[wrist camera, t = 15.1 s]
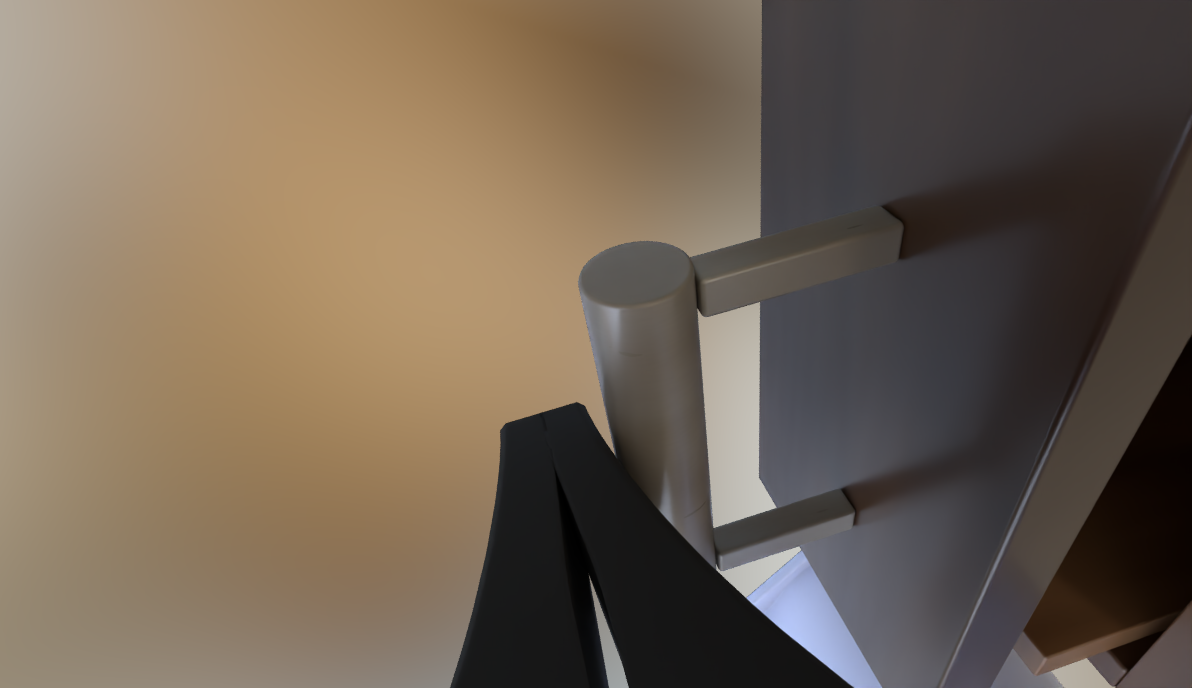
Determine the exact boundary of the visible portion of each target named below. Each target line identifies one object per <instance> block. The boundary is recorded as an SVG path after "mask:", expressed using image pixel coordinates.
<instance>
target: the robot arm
mask: <svg viewBox="0 0 1192 688" xmlns="http://www.w3.org/2000/svg"><path fill="white" fill-rule="evenodd" d="M500 433H501V434H500V439H501V447H500V448H501V449H500V465H499V476H498V484H497V492H496V500H495V507H494V512H493V518H492V524H491V530H490V535H489V541H488V547H487V552H486V557H485V561H484V566H483V570H482V574H481V578H480V582H479V587H478V591H477V595H476V599H475V603H474V608H473V612H472V616H471V619H470V623H469V627H468V630H467V634H466V637H465V641H464V645H463V648H462V651H461V655H460V658H459V661H458V665H457V668H456V671H455V674H454V677H453V680H452V683H451V687H450V688H609V686H608V680H607V675H606V669H605V663H604V658H603V652H602V647H601V641H600V635H599V629H598V624H597V618H596V612H595V607H594V601H593V596H592V591H591V584H590V579H589V576H590V578H591V581H592V584H593V586H594V589H595V592H596V595H597V597H598V600H599V602H600V605H601V608H602V611H603V613H604V616H605V619H606V621H607V624H608V627H609V629H610V632H611V635H612V637H613V640H614V643H615V645H616V648H617V651H618V653H619V656H620V659H621V661H622V664H623V668H624V672H625V675H626V679H627V683H628V686H629V688H882V687H881V685H880V683H879V682H878V680H877V678H876V676H875V675H874V673H873V671H872V670H871V668H870V666H869V664H868V663H867V661H866V659H865V658H864V656H863V654H862V652H861V651H860V649H859V647H858V646H857V644H856V642H855V640H854V639H853V637H852V635H851V634H850V632H849V630H848V628H847V627H846V625H845V623H844V622H843V620H842V618H841V616H840V615H839V613H838V611H837V610H836V608H835V606H834V605H833V603H832V601H831V599H830V598H829V596H828V594H827V593H826V591H825V589H824V587H823V586H822V584H821V582H820V581H819V579H818V577H817V575H816V574H815V572H814V570H813V569H812V567H811V565H810V563H809V562H808V560H807V558H806V557H805V555H804V553H803V551H802V550H801V551H800V552H799V553H798V554H797V555H795V556H794V557H793V558H792V559H791V560H790V561H789V562H787V563H786V564H785V565H784V566H783V567H782V568H780V569H779V570H778V571H777V572H776V573H775V574H773V575H772V576H771V577H770V578H769V579H768V580H766V581H765V582H764V583H763V584H762V585H760V587H758V588H757V589H756V590H755V591H754V592H752V593H751V594H750V595H749V596H748V597H747V598H745V597H744V596H743V595H742V594H741V593H740V592H739V591H738V590H737V589H736V588H735V587H734V586H732V585H731V584H730V583H729V582H728V581H727V580H726V579H725V578H724V577H723V576H722V575H721V574H720V573H718V571H717V570H716V569H715V568H713V567H712V566H711V565H710V564H709V563H708V562H707V561H706V560H705V559H704V558H703V557H702V556H701V555H700V554H699V553H698V552H697V551H696V550H695V549H694V547H693V546H692V545H691V544H690V543H689V542H688V541H687V540H686V539H685V538H684V537H683V536H682V535H681V534H680V533H679V532H678V531H677V529H676V528H675V527H674V526H673V525H672V524H671V523H670V522H669V521H668V520H667V519H666V517H665V516H664V515H663V514H662V513H661V512H660V511H659V510H658V508H657V507H656V506H655V505H654V504H653V503H652V501H651V500H650V499H649V498H648V497H647V495H646V494H645V493H644V492H643V491H642V489H641V488H640V487H639V486H638V485H637V483H636V482H635V481H634V480H633V479H632V477H631V476H630V475H629V474H628V472H627V471H626V470H625V468H624V467H623V466H622V464H621V463H620V462H619V460H618V459H617V458H616V456H615V455H614V453H613V452H612V451H611V449H610V448H609V446H608V445H607V444H606V442H605V441H604V439H603V437H602V436H601V434H600V433H599V431H598V430H597V428H596V427H595V425H594V423H593V421H592V419H591V417H590V416H589V414H588V412H587V409H586V407H585V406H584V405H582V404H580V403H577V402H576V403H573V404H569V405H566V406H563V407H559V408H556V409H552V410H549V411H546V412H542V413H539V414H536V415H533V416H530V417H526V418H522V419H519V420H516V421H512V422H509V423H506V424H505V425H504V426H503V428H502V429H501V430H500ZM991 688H1064V687H1063V686H1062V684H1061V683H1060V682H1059V681H1058V679H1057V678H1056V677H1055V676H1054V674H1053V673H1052V672H1051V671H1049V672H1047V673H1044V674H1041V675H1038V676H1034V675H1033V674H1032V672H1031V671H1030V670H1029V668H1028V667H1027V666H1026V665H1025V663H1024V662H1023V661H1022V659H1021V658H1020V657H1019V656H1018V654H1017V653H1016V652H1015V650H1014V649H1012V651H1011V653H1010V654H1009V656H1008V658H1007V660H1006V661H1005V663H1004V665H1003V667H1002V668H1001V670H1000V672H999V674H998V675H997V677H996V679H995V681H994V682H993V684H992V686H991Z"/></svg>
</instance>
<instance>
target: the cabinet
mask: <svg viewBox="0 0 1192 688" xmlns="http://www.w3.org/2000/svg"><path fill="white" fill-rule="evenodd" d="M1087 659H1088V660H1089V661H1090V662H1091V663H1092V664H1093V666H1094V667H1095V668H1096V669H1097V670H1098V671H1099V673H1100V674H1101V675H1102V676H1103V677H1104V678H1105V679H1106V681H1107V682H1108V683H1109V684H1110V685H1111V686H1116V687H1115V688H1192V600H1191V601H1190V602H1189V604H1188V605H1187V606H1186V607H1185V608H1184V609H1183V610H1182V612H1181V613H1180V614H1179V615H1178V616H1177V617H1176V618H1175V620H1174V621H1173V622H1172V623H1171V624H1170V625H1169V626H1168V628H1167V629H1166V630H1163V631H1160V632H1157V633H1154V634H1152V635H1149V636H1146V637H1143V638H1141V639H1138V640H1135V641H1132V642H1130V643H1127V644H1124V645H1121V646H1118V647H1116V648H1113V649H1110V650H1107V651H1105V652H1102V653H1099V654H1096V655H1094V656H1091V657H1088V658H1087Z"/></svg>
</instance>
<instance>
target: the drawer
mask: <svg viewBox="0 0 1192 688" xmlns="http://www.w3.org/2000/svg"><path fill="white" fill-rule="evenodd" d="M761 106H762V107H761V118H762V119H761V238H758V239H754V240H751V241H747V242H744V243H740V244H736V245H733V246H729V247H726V248H722V249H718V250H715V251H711V252H708V253H704V254H701V255H697V256H693V257H690V258H689V256H688V255H687V254H686V253H685V252H684V251H682V250H681V249H679V248H677V247H675V246H673V245H669V244H666V243H661V242H653V241H640V242H631V243H625V244H621V245H618V246H615V247H612V248H609V249H607V250H605V251H603V252H601V253H599V254H598V255H596V256H594V257H593V258H592V259H591V260H590V261H588V263H586V265H585V266H584V267H583V269H582V271H581V273H580V276H579V281H578V285H579V291H580V295H581V300H582V304H583V309H584V314H585V318H586V323H587V328H588V332H589V337H590V341H591V346H592V350H593V355H594V359H595V364H596V369H597V373H598V378H599V383H600V387H601V392H602V397H603V401H604V406H605V410H606V415H607V420H608V424H609V429H610V433H611V438H612V442H613V447H614V452H615V456H616V458H617V459H618V460H619V462H620V463H621V464H622V466H623V467H624V468H625V470H626V471H627V472H628V474H629V475H630V476H631V477H632V479H633V480H634V481H635V482H636V483H637V485H638V486H639V487H640V488H641V489H642V491H643V492H644V493H645V494H646V495H647V497H648V498H649V499H650V500H651V501H652V503H653V504H654V505H655V506H656V507H657V508H658V510H659V511H660V512H661V513H662V514H663V515H664V516H665V517H666V519H667V520H668V521H669V522H670V523H671V524H672V525H673V526H674V527H675V528H676V529H677V531H678V532H679V533H680V534H681V535H682V536H683V537H684V538H685V539H686V540H687V541H688V542H689V543H690V544H691V545H692V546H693V547H694V549H695V550H696V551H697V552H698V553H699V554H700V555H701V556H702V557H703V558H704V559H705V560H706V561H707V562H708V563H709V564H710V565H711V566H712V567H713V568H715V569H716V564H717V567H718V569H719V570H720V571H725V570H728V569H731V568H734V567H737V566H740V565H743V564H746V563H749V562H752V561H755V560H758V559H761V558H764V557H767V556H770V555H773V554H776V553H779V552H783V551H786V550H789V549H792V548H795V547H798V546H800V548H801V550H802V551H803V553H804V555H805V557H806V558H807V560H808V562H809V563H810V565H811V567H812V569H813V570H814V572H815V574H816V575H817V577H818V579H819V581H820V582H821V584H822V586H823V587H824V589H825V591H826V593H827V594H828V596H829V598H830V599H831V601H832V603H833V605H834V606H835V608H836V610H837V611H838V613H839V615H840V616H841V618H842V620H843V622H844V623H845V625H846V627H847V628H848V630H849V632H850V634H851V635H852V637H853V639H854V640H855V642H856V644H857V646H858V647H859V649H860V651H861V652H862V654H863V656H864V658H865V659H866V661H867V663H868V664H869V666H870V668H871V670H872V671H873V673H874V675H875V676H876V678H877V680H878V682H879V683H880V685H881V687H882V688H991V686H992V684H993V682H994V681H995V679H996V677H997V675H998V674H999V672H1000V670H1001V668H1002V667H1003V665H1004V663H1005V661H1006V660H1007V658H1008V656H1009V654H1010V653H1011V651H1012V649H1014V650H1015V652H1016V653H1017V654H1018V656H1019V657H1020V658H1021V659H1022V661H1023V662H1024V663H1025V665H1026V666H1027V667H1028V668H1029V670H1030V671H1031V672H1032V674H1033V675H1034V676H1038V675H1041V674H1044V673H1047V672H1049V671H1052V670H1055V669H1058V668H1060V667H1063V666H1066V665H1068V664H1071V663H1074V662H1077V661H1080V660H1083V659H1085V658H1088V657H1091V656H1094V655H1096V654H1099V653H1102V652H1105V651H1107V650H1110V649H1113V648H1116V647H1118V646H1121V645H1124V644H1127V643H1130V642H1132V641H1135V640H1138V639H1141V638H1143V637H1146V636H1149V635H1152V634H1154V633H1157V632H1160V631H1163V630H1166V629H1167V628H1168V626H1169V625H1170V624H1171V623H1172V622H1173V621H1174V620H1175V618H1176V617H1177V616H1178V615H1179V614H1180V613H1181V612H1182V610H1183V609H1184V608H1185V607H1186V606H1187V605H1188V604H1189V602H1190V601H1191V600H1192V0H762V97H761ZM757 302H760V419H759V420H760V423H759V478H760V480H761V481H762V483H763V485H764V486H765V488H766V490H767V491H768V493H769V495H770V497H771V498H772V500H773V502H774V503H775V505H776V507H777V508H775V509H772V510H769V511H766V512H763V513H760V514H756V515H753V516H750V517H747V518H744V519H741V520H738V521H735V522H732V523H729V524H725V525H722V526H719V527H716V528H713V517H712V503H711V490H710V476H709V463H708V449H707V436H706V422H705V410H704V409H705V408H704V394H703V381H702V367H701V353H700V340H699V328H698V314H697V313H698V312H697V308H698V310H699V311H700V313H701V314H702V316H704V317H709V316H713V315H716V314H720V313H723V312H727V311H730V310H733V309H737V308H740V307H744V306H747V305H751V304H754V303H757Z"/></svg>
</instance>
